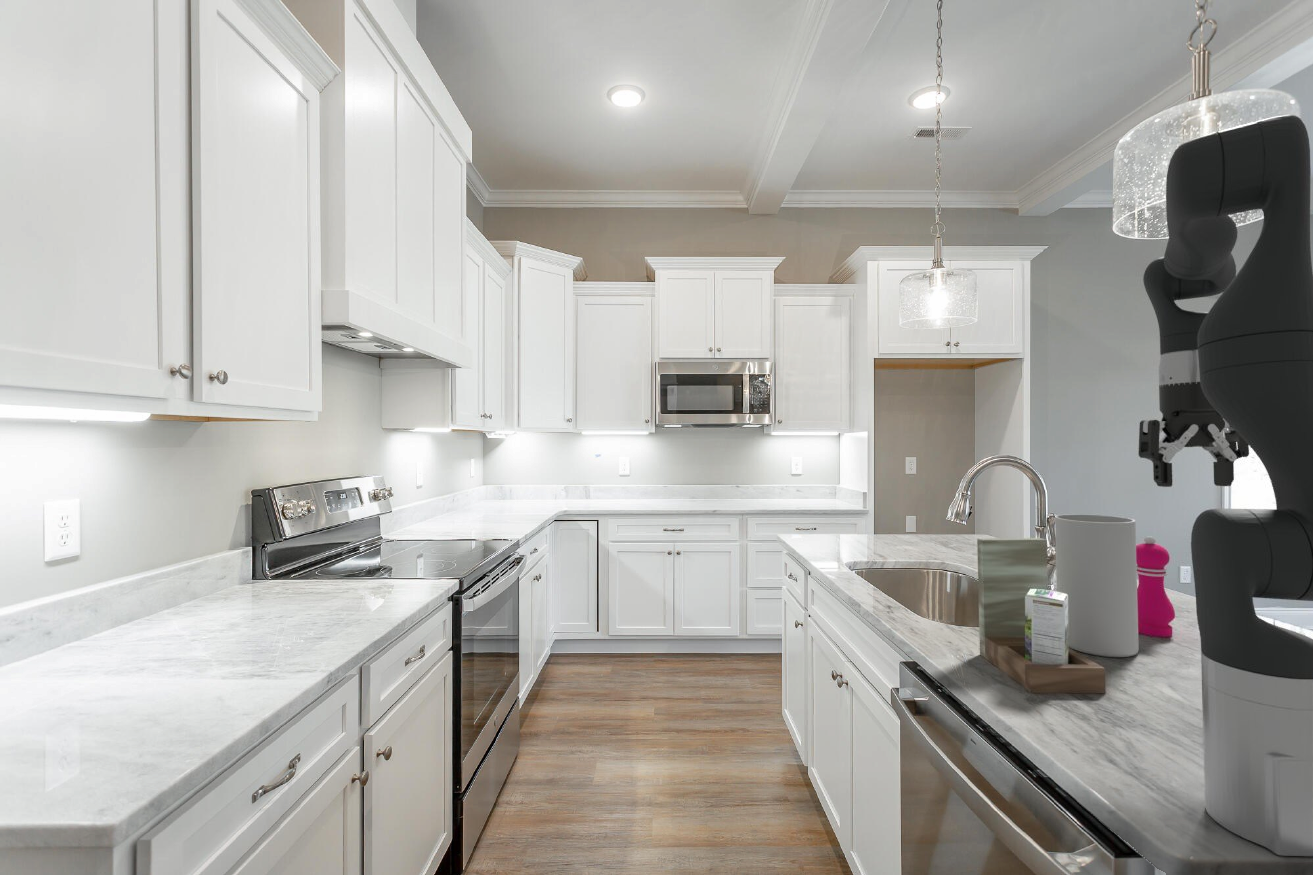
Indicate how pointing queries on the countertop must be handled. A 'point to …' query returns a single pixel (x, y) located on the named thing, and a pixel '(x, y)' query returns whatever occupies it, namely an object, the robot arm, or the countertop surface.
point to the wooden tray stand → (1023, 618)
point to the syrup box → (1046, 627)
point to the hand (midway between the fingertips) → (1193, 486)
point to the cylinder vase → (1098, 582)
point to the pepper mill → (1153, 590)
